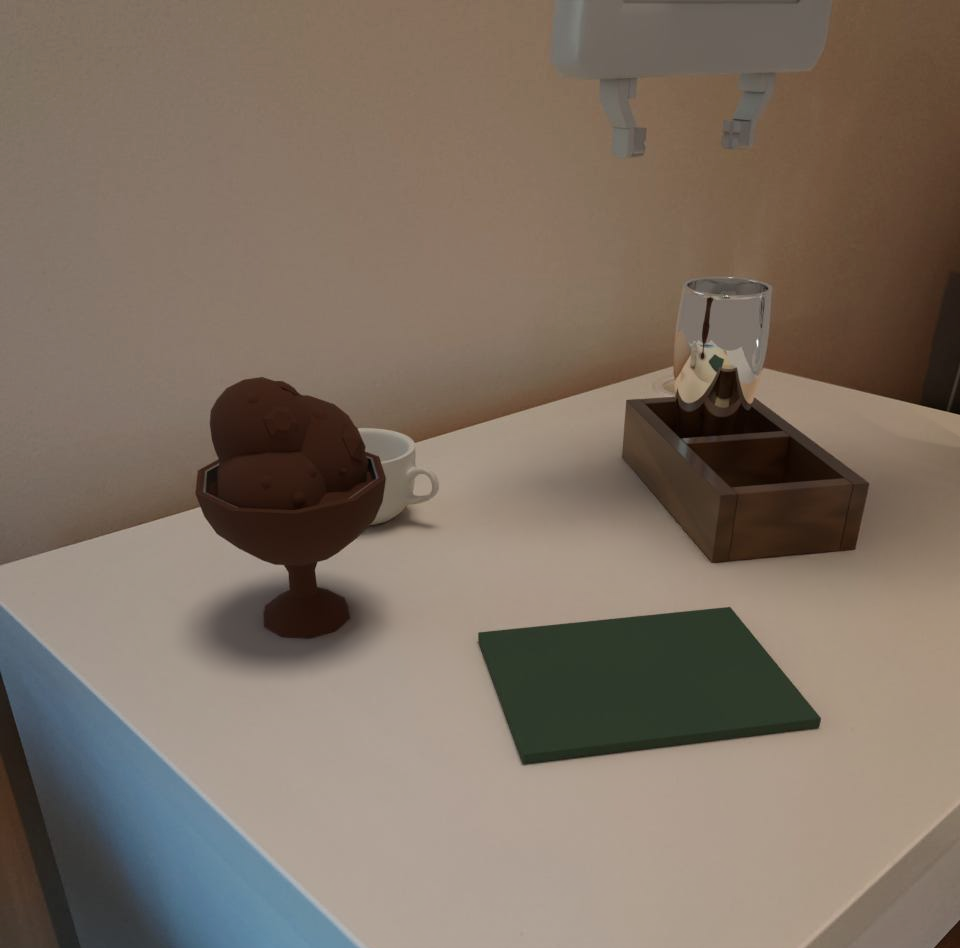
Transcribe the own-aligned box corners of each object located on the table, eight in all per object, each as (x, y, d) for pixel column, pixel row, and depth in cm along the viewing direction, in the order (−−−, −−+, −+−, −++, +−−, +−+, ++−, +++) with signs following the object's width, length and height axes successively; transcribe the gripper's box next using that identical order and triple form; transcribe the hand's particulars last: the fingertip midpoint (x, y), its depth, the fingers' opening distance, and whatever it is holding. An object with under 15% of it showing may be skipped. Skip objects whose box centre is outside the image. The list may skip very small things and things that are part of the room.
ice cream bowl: (295, 684, 56) (264, 426, 48) (183, 616, 62) (139, 380, 55) (429, 613, 63) (420, 377, 55) (315, 559, 69) (293, 341, 61)
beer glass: (646, 479, 81) (663, 288, 73) (683, 453, 86) (703, 271, 78) (727, 499, 78) (754, 301, 70) (760, 471, 83) (789, 282, 75)
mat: (729, 614, 62) (730, 606, 62) (819, 727, 52) (821, 718, 52) (478, 640, 60) (478, 632, 60) (522, 764, 50) (523, 754, 50)
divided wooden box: (739, 447, 87) (747, 391, 84) (855, 549, 70) (869, 483, 68) (621, 456, 85) (626, 399, 83) (711, 562, 69) (720, 495, 66)
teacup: (294, 524, 74) (287, 455, 71) (346, 487, 80) (341, 422, 77) (415, 548, 70) (412, 477, 68) (460, 507, 76) (459, 440, 74)
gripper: (594, -112, 54) (583, 168, 61) (864, -97, 63) (826, 148, 70) (533, -101, 59) (529, 158, 66) (791, -88, 67) (763, 140, 75)
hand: (683, 153), depth 68 cm, fingers open, 8 cm apart
